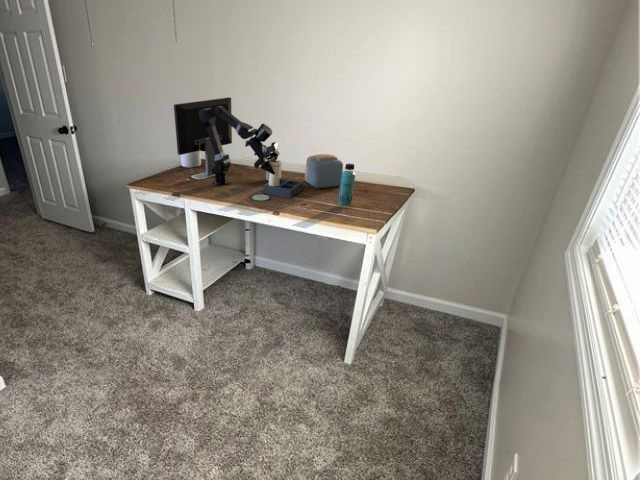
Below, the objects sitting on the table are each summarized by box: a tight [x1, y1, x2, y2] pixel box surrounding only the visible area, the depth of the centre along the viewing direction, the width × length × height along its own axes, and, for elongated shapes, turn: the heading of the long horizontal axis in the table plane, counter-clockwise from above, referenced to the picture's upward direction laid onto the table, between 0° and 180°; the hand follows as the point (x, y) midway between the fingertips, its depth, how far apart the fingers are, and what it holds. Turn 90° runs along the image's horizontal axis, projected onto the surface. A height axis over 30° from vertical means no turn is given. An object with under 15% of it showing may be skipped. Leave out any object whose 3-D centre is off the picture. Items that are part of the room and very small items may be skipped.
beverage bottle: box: [337, 163, 357, 206], centre depth 195 cm, size 6×7×20 cm
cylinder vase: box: [180, 151, 202, 169], centre depth 261 cm, size 12×12×25 cm
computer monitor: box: [173, 96, 233, 180], centre depth 238 cm, size 41×8×40 cm, turn 136°
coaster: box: [251, 194, 270, 201], centre depth 212 cm, size 9×9×1 cm
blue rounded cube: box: [304, 153, 344, 190], centre depth 227 cm, size 16×16×16 cm
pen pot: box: [268, 159, 282, 186], centre depth 214 cm, size 6×6×12 cm
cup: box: [265, 161, 283, 181], centre depth 237 cm, size 8×8×10 cm
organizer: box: [263, 177, 304, 199], centre depth 219 cm, size 15×15×4 cm
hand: (276, 172), depth 213 cm, fingers closed on pen pot, 5 cm apart
